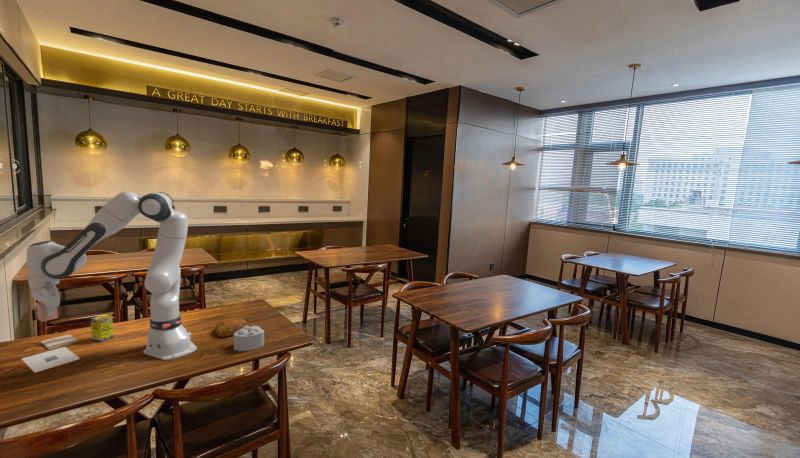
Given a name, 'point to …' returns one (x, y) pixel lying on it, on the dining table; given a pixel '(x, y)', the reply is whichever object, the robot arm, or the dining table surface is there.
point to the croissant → (229, 326)
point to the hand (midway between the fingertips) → (47, 312)
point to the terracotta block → (42, 312)
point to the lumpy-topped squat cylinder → (248, 338)
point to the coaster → (59, 341)
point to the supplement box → (102, 328)
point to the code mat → (50, 359)
